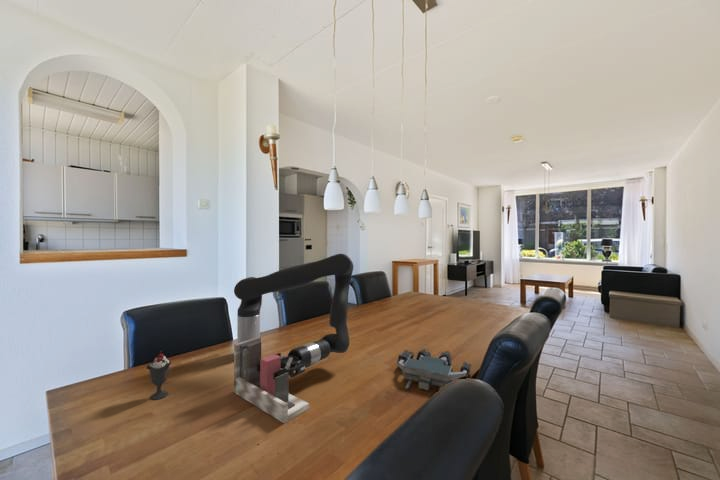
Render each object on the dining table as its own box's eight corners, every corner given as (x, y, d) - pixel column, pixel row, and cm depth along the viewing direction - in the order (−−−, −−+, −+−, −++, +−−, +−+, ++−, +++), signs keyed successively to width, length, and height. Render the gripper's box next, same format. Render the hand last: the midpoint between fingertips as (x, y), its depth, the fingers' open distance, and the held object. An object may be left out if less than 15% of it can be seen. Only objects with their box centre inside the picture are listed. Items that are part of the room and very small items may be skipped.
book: (260, 396, 93) (260, 358, 93) (274, 390, 97) (274, 353, 97) (266, 400, 91) (266, 361, 90) (280, 394, 95) (281, 356, 95)
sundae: (159, 402, 92) (159, 354, 91) (141, 399, 93) (141, 352, 93) (176, 391, 98) (176, 346, 98) (159, 389, 99) (159, 344, 99)
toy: (472, 355, 121) (470, 376, 94) (471, 376, 120) (469, 405, 93) (406, 342, 132) (387, 358, 104) (405, 362, 131) (385, 384, 103)
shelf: (233, 392, 98) (234, 342, 98) (258, 381, 105) (258, 335, 105) (284, 423, 82) (284, 364, 82) (308, 408, 90) (309, 354, 89)
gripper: (291, 341, 109) (252, 354, 96) (319, 350, 101) (280, 366, 88) (291, 361, 109) (252, 377, 96) (319, 372, 101) (279, 392, 88)
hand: (265, 372), depth 92 cm, fingers open, 8 cm apart
